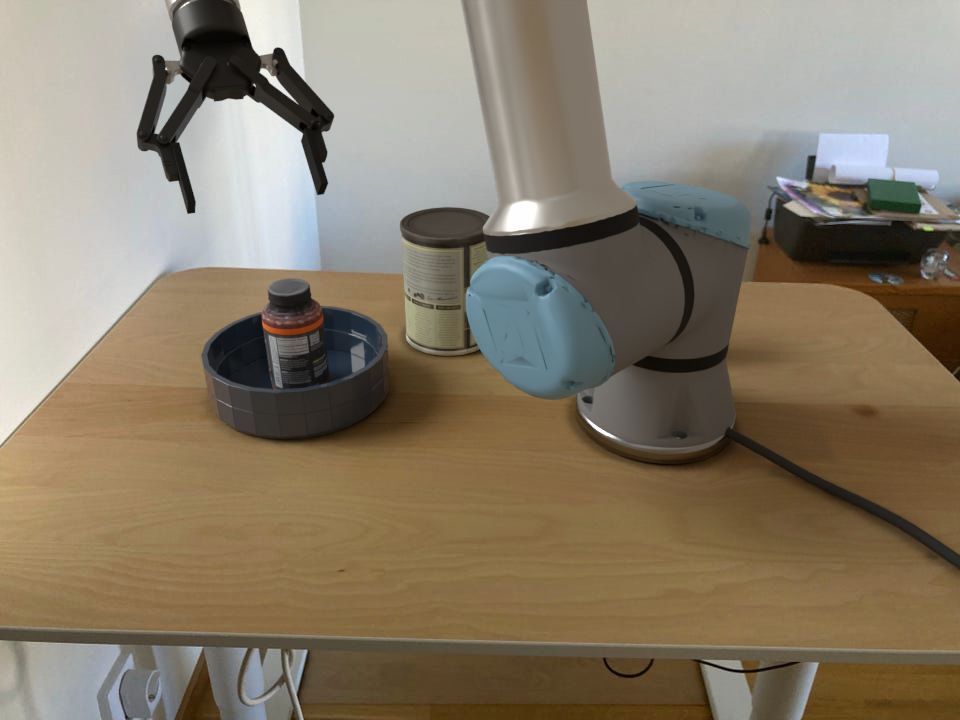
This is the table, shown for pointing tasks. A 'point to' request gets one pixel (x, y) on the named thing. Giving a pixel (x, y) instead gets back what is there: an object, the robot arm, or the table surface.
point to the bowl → (300, 411)
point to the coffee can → (441, 277)
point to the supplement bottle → (294, 336)
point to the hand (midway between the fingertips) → (259, 198)
